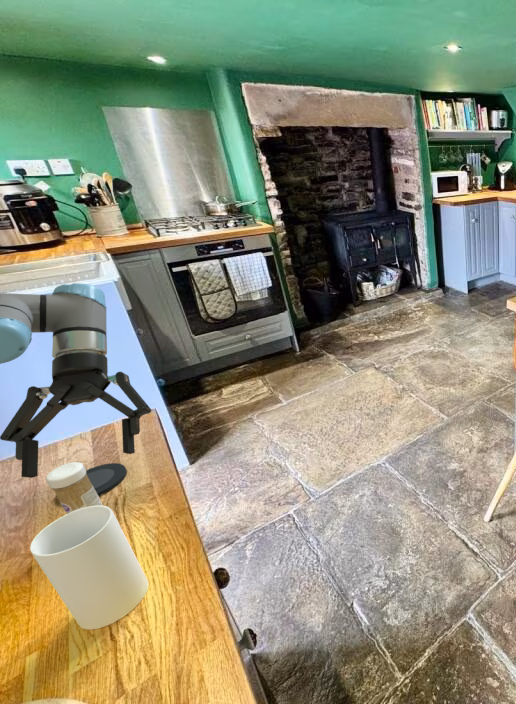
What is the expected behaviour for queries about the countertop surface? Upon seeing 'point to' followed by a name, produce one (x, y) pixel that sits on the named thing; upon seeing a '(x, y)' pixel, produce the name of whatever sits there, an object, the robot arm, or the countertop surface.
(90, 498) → the sprinkles bottle
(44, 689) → the countertop surface
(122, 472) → the mat
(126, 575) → the cup
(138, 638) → the countertop surface
